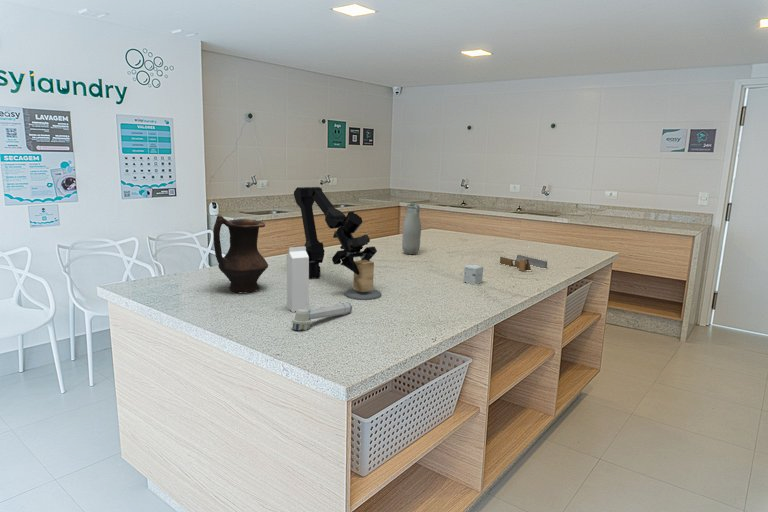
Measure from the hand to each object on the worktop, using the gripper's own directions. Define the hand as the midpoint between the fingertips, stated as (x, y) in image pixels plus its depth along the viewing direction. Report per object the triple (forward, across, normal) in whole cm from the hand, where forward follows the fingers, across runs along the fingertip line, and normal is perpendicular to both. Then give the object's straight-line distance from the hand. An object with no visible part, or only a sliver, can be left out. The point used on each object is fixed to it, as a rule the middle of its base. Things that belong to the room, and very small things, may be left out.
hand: (364, 273), depth 196 cm
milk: (+6, -30, +6) cm, 31 cm away
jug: (-17, -34, +30) cm, 49 cm away
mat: (+6, 0, +6) cm, 9 cm away
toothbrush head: (+18, -30, -5) cm, 36 cm away
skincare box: (+15, +51, -3) cm, 54 cm away
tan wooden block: (+4, 0, +5) cm, 7 cm away
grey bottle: (-28, +74, +41) cm, 89 cm away
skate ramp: (+10, +94, +3) cm, 95 cm away
